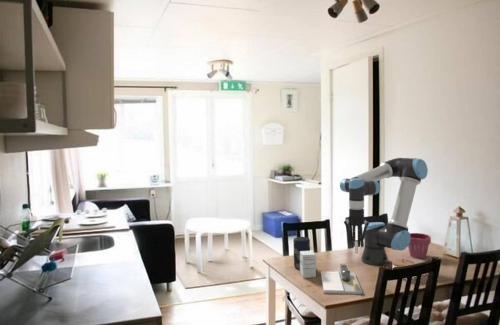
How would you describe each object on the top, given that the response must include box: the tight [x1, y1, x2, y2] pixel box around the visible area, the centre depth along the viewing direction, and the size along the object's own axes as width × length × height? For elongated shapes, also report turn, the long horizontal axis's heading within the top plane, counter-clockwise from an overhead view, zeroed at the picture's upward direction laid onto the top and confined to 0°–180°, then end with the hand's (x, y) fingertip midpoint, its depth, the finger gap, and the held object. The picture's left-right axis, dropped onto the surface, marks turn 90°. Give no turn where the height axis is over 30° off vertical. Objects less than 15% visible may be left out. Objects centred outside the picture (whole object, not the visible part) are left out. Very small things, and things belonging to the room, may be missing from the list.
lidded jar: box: [391, 258, 415, 269], centre depth 211 cm, size 11×11×9 cm
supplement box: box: [299, 250, 317, 279], centre depth 216 cm, size 7×7×13 cm
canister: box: [293, 236, 311, 270], centre depth 229 cm, size 10×10×18 cm
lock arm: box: [339, 263, 351, 281], centre depth 208 cm, size 14×4×5 cm, turn 173°
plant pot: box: [407, 232, 432, 259], centre depth 244 cm, size 14×14×13 cm
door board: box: [320, 270, 363, 295], centre depth 203 cm, size 18×26×4 cm
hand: (356, 252), depth 208 cm, fingers closed
